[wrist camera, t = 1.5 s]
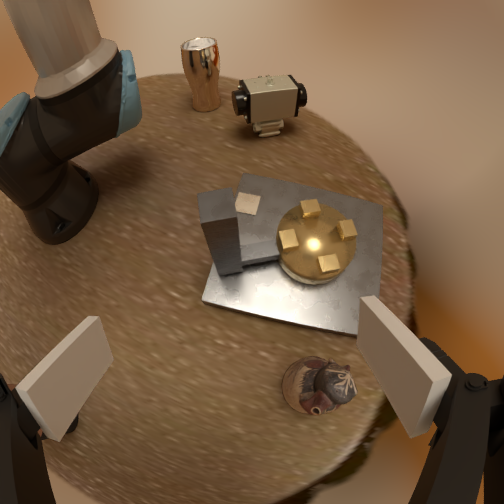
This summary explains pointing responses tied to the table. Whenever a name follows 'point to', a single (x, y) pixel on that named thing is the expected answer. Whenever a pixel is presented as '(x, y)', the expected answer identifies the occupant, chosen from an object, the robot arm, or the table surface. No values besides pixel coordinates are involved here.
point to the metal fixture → (280, 239)
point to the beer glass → (202, 72)
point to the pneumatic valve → (268, 102)
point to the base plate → (284, 286)
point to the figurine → (317, 385)
